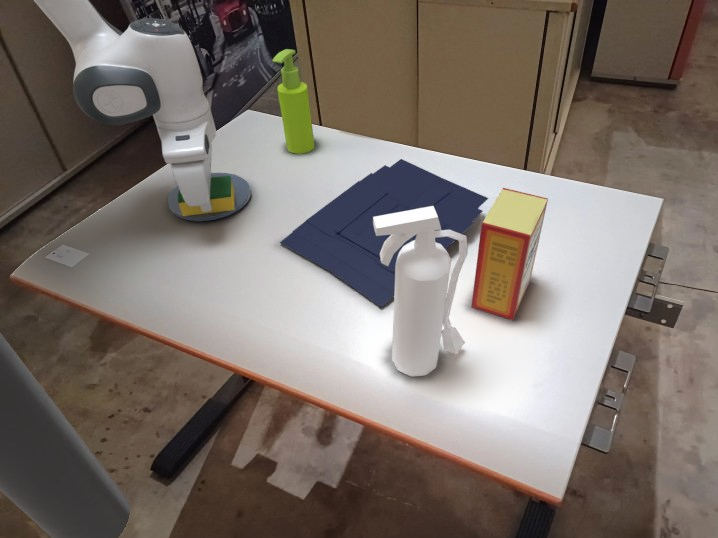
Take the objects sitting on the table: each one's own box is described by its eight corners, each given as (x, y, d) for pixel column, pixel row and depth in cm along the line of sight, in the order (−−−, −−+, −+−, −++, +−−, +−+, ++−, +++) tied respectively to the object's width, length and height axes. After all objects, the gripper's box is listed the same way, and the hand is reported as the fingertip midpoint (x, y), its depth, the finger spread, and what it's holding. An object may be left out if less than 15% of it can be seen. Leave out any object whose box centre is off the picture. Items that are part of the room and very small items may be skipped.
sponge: (182, 216, 98) (177, 199, 96) (184, 197, 102) (179, 180, 100) (234, 210, 99) (230, 193, 97) (234, 192, 104) (230, 175, 101)
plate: (166, 228, 98) (164, 222, 97) (173, 183, 108) (170, 177, 107) (252, 218, 100) (250, 211, 99) (250, 174, 111) (249, 168, 110)
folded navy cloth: (496, 214, 98) (497, 198, 96) (384, 319, 85) (382, 304, 82) (395, 167, 110) (393, 151, 107) (282, 253, 96) (277, 238, 94)
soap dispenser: (279, 153, 116) (262, 56, 102) (295, 138, 121) (281, 43, 107) (303, 158, 115) (289, 60, 101) (319, 143, 119) (308, 47, 105)
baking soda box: (490, 269, 90) (503, 185, 78) (530, 281, 88) (548, 196, 77) (471, 307, 84) (481, 221, 72) (512, 320, 82) (530, 234, 70)
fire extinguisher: (471, 372, 75) (492, 223, 57) (383, 384, 73) (377, 235, 56) (459, 335, 80) (475, 187, 62) (376, 345, 78) (369, 197, 61)
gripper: (171, 101, 97) (192, 170, 107) (161, 160, 83) (187, 233, 92) (208, 97, 98) (225, 166, 108) (204, 155, 84) (225, 228, 93)
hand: (208, 198), depth 100 cm, fingers closed on sponge, 6 cm apart
